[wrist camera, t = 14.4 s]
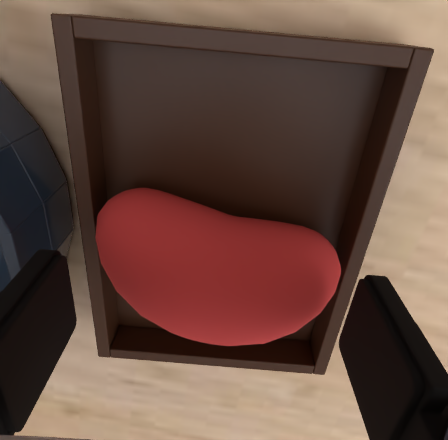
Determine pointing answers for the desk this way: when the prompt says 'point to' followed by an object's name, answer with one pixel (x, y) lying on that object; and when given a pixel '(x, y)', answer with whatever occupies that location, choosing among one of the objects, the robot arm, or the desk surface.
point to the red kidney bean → (213, 268)
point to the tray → (233, 151)
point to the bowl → (29, 191)
